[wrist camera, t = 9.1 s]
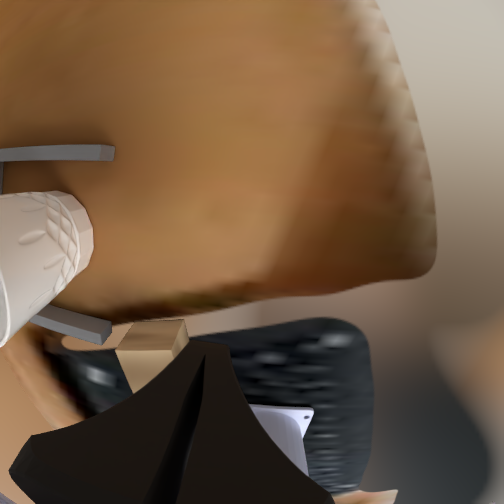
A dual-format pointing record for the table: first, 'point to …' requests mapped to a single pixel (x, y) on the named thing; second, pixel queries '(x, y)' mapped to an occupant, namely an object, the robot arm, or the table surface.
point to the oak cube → (150, 349)
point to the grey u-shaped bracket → (48, 315)
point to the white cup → (38, 252)
